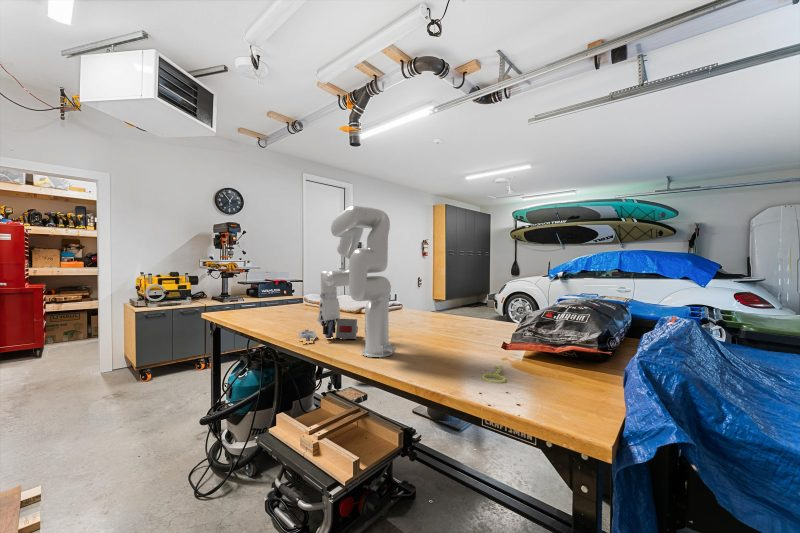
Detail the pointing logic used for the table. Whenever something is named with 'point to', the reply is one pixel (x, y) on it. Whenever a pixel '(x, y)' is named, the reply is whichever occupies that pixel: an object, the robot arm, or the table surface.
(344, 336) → the voltmeter
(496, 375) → the key
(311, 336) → the chain ends
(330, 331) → the pin
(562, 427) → the table surface
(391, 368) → the table surface
